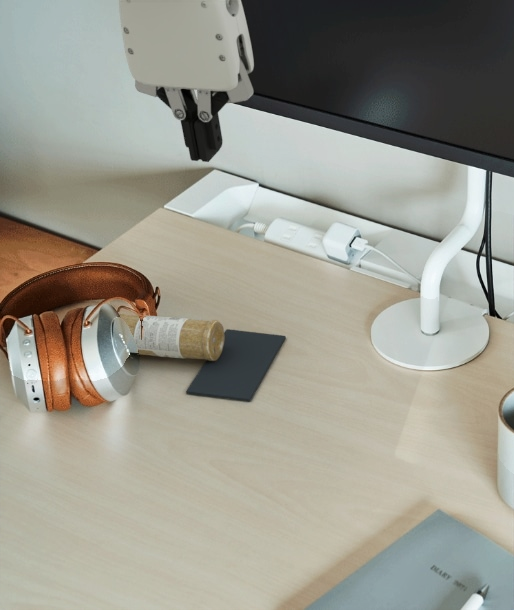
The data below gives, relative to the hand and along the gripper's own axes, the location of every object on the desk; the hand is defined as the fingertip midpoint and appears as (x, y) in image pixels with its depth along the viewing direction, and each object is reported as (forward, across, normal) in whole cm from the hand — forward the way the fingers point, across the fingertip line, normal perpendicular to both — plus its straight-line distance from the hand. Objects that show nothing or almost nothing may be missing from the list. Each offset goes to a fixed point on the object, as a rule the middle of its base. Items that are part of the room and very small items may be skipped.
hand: (206, 154), depth 86 cm
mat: (+25, 0, 0) cm, 25 cm away
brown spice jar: (+22, +2, 0) cm, 23 cm away
